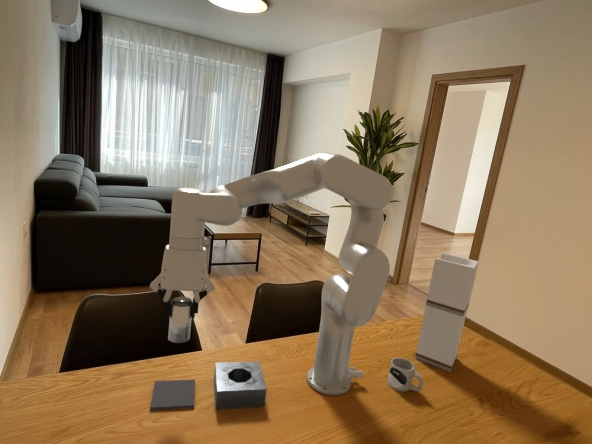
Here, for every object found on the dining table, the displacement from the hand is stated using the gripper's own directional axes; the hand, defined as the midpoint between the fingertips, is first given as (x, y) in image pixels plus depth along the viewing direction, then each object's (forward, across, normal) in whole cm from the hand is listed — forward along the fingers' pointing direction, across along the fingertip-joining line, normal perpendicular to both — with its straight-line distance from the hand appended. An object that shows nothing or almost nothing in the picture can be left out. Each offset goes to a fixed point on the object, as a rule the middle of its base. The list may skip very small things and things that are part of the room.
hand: (180, 314), depth 91 cm
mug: (+22, -64, +1) cm, 67 cm away
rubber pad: (+22, 0, 0) cm, 22 cm away
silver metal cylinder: (+6, 0, 0) cm, 6 cm away
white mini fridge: (+21, -84, -13) cm, 87 cm away
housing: (+22, -16, 0) cm, 27 cm away
